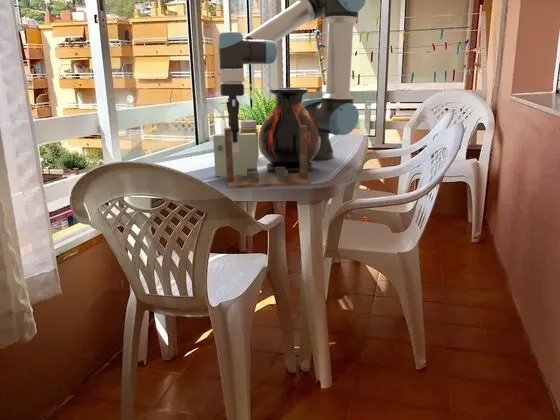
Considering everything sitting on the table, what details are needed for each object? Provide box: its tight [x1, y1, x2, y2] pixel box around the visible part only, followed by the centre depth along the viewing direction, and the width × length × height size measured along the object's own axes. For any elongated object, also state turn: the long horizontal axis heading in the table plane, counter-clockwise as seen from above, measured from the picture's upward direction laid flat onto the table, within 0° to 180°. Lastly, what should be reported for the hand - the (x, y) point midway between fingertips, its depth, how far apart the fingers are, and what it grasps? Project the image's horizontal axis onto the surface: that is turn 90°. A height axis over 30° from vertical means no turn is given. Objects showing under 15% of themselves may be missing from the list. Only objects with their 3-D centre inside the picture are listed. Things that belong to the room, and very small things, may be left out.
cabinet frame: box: [223, 125, 312, 189], centre depth 152 cm, size 25×13×18 cm, turn 98°
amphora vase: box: [258, 87, 321, 174], centre depth 170 cm, size 22×22×28 cm
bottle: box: [239, 119, 260, 160], centre depth 195 cm, size 7×7×15 cm
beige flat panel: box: [212, 133, 258, 177], centre depth 164 cm, size 14×4×14 cm, turn 98°
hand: (234, 149), depth 164 cm, fingers open, 13 cm apart
